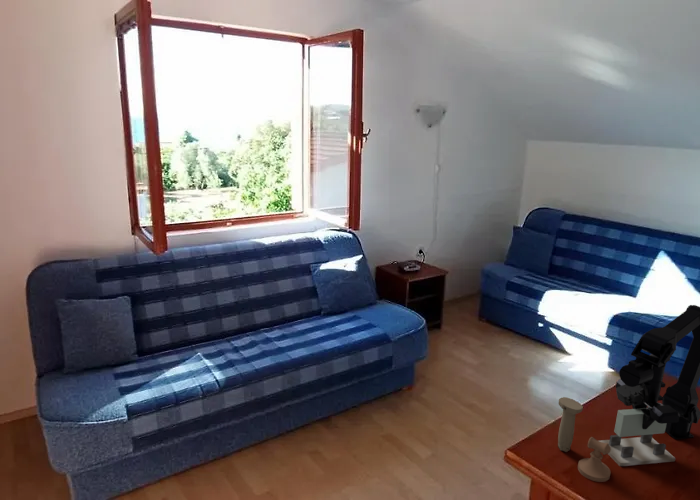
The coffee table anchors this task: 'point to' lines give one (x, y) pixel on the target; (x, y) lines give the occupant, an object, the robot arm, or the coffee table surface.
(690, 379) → the robot arm
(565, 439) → the handle
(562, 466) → the coffee table surface
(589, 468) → the door knob
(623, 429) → the cabinet door
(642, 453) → the cabinet panel
